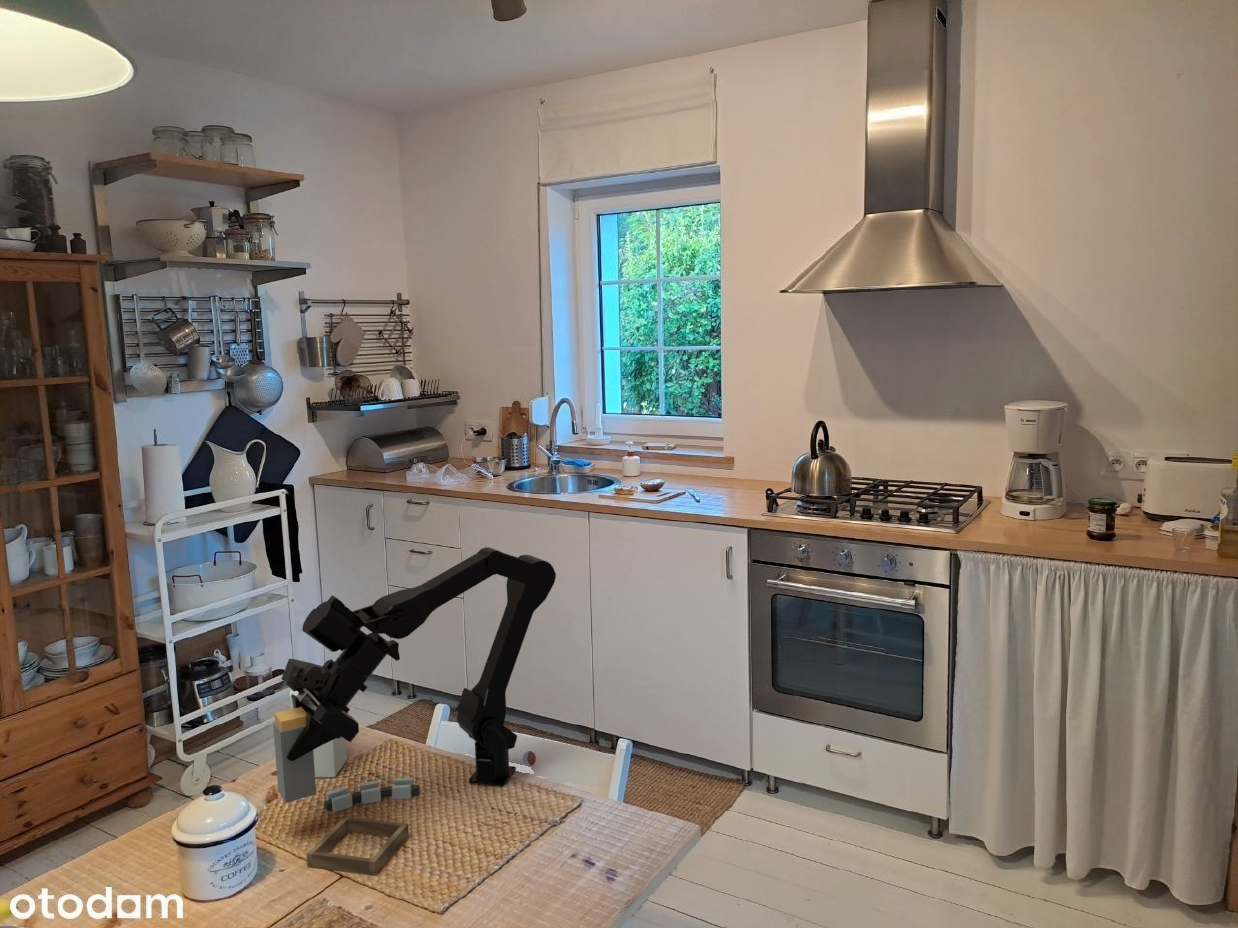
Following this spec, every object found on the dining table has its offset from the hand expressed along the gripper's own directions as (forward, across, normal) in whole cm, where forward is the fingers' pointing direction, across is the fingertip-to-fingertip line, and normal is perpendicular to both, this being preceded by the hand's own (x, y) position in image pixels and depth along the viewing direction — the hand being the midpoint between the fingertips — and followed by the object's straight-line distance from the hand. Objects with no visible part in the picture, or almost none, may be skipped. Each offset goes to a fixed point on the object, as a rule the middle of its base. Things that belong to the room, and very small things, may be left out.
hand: (285, 753), depth 135 cm
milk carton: (+2, -20, +17) cm, 27 cm away
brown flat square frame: (+4, +10, +15) cm, 18 cm away
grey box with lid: (+4, 0, +6) cm, 7 cm away
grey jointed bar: (0, -4, +19) cm, 20 cm away
